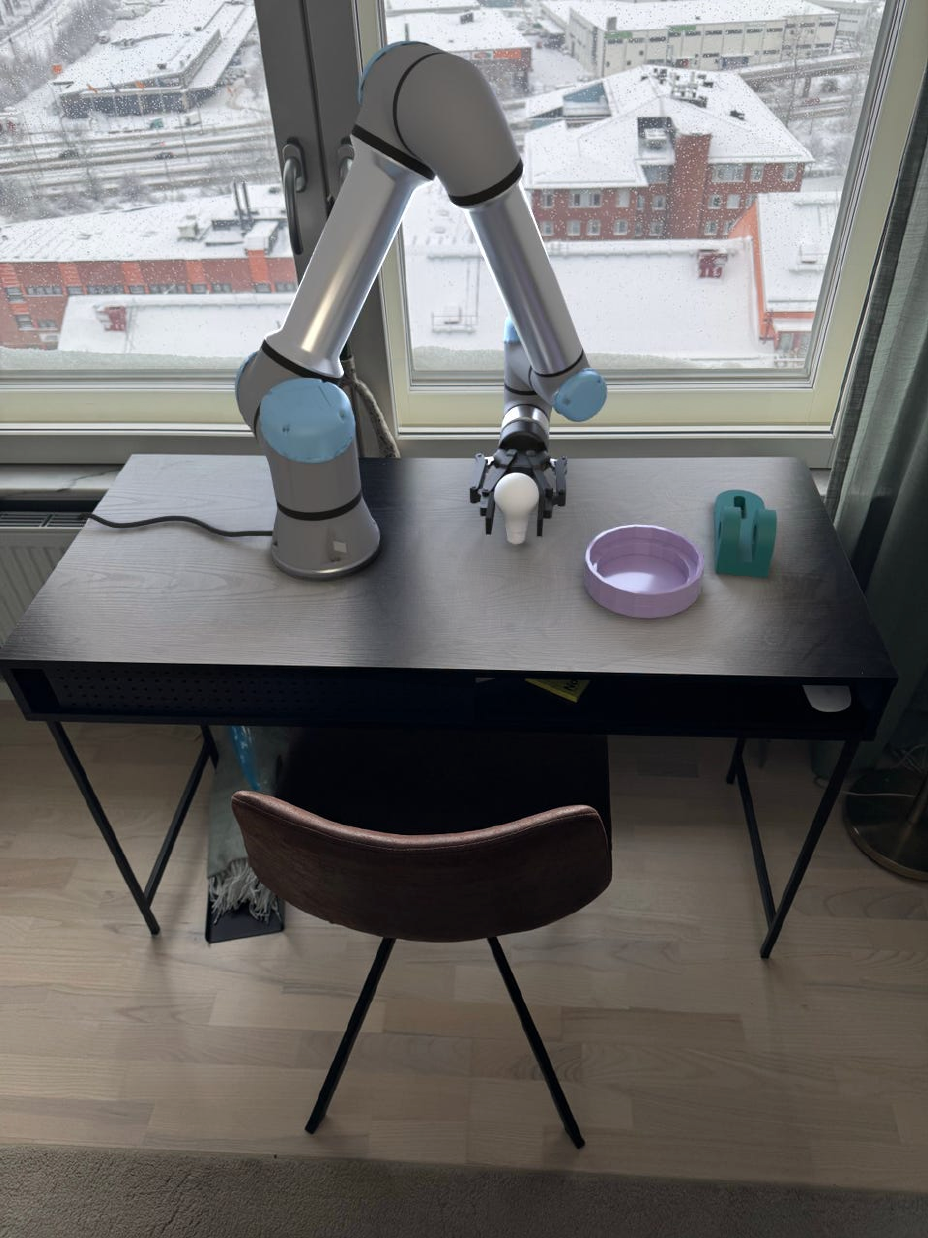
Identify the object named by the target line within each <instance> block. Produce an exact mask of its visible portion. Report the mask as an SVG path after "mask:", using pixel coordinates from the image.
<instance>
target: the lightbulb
mask: <svg viewBox="0 0 928 1238" xmlns="http://www.w3.org/2000/svg"><path fill="white" fill-rule="evenodd" d="M494 500H495V507H496V508H497V509H498V511H499V512H500V514H501V516H502V517H503V521H504V527H505V530H506V537H507V538H506V540H507V541H508V543H510V544H512V545H514V546H515V545H516V546H517V545H519V544H520V545H521V544H522V543H524V542H525V540H526V532H527V531H526V530H528V527H529V526H528V525H529V519H530V517H531V515H532V514H533V512H534V510H535V509H536V507H537V506H538V502H539V491H538V487H537V485H536V483H535V482H534V481H533V480H532V479H531V478H530V477H529V476H527V475H525V474H522V473H511V474H508V475H506V476H504V477H503V478H502V479H501V480H500V481H499V482H498V484H497V485H496V488H495V492H494Z"/></svg>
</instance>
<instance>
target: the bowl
mask: <svg viewBox="0 0 928 1238" xmlns="http://www.w3.org/2000/svg"><path fill="white" fill-rule="evenodd" d="M705 567H706V565H705V556H704V554H703V553H702V551H701V549H700V547H699V546H698V545H697V544H696V543H695V542H694V541H692V540H691V539H690V538H689V537H687V536H686V535H684V534H681V533H679V532H677V531H674V530H672V529H671V528H665V527H661V526H657V525H654V524H653V525H651V524H629V525H627V524H626V525H621V526H619V525H618V526H616V527H613V528H610V529H607V530H604V531H602V532H600V533H599V534H598V535H597V536H595V537H594V538H592V539H591V540H590V542H589V544H588V545H587V547H586V549H585V558H584V574H583V585H584V587H585V589H586V591H587V593H588V595H589V596H590V597H591V598H592V599H593V600H594V601H595V602H596V603H597V604H599V606H602V607H604V608H605V609H607V610H609V611H611V612H612V613H615V614H618V615H623V616H626V617H631V618H642V619H655V618H656V619H657V618H664V617H670V616H673V615H676V614H678V613H681V612H683V611H685V610H687V609H688V608H689V607H690V606H692V605H693V604H694V603H695V602H696V601H697V599H698V597H699V595H700V593H701V591H702V585H703V580H704V573H705Z"/></svg>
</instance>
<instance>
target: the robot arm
mask: <svg viewBox="0 0 928 1238" xmlns="http://www.w3.org/2000/svg"><path fill="white" fill-rule="evenodd" d="M358 84H359V85H358V91H357V96H358V97H357V98H358V104H359V105H358V106H359V110H360V111H359V113H358V115H357V118H356V119H355V122H354V125H353V127H352V129H351V132H350V135H349V138H350V142H351V145H352V148H353V152H354V157H353V159H352V162H351V165H350V167H349V169H348V171H347V173H346V176H345V178H344V181H343V182H342V186H341V188H340V190H339V192H338V195H337V197H336V200H335V201H334V204H333V207H332V209H331V211H330V213H329V216H328V218H327V221H326V222H325V225H324V228H323V230H322V232H321V234H320V237H319V238H318V241H317V244H316V246H315V248H314V251H313V253H312V256H311V258H310V260H309V263H308V265H307V267H306V269H305V271H304V274H303V276H302V279H301V281H300V284H299V286H298V287H297V290H296V293H295V295H294V298H293V300H292V302H291V305H290V306H289V309H288V311H287V314H286V316H285V318H284V320H283V323H282V324H281V325H282V326H280V328H279V329H276V330H273V331H270V332H268V333H266V334H265V336H264V338H263V341H262V342H261V344H260V347H259V349H258V350H256V351H255V352H252V353H250V354H248V356H247V357H246V358H245V359H244V360H243V361H242V363H241V365H240V366H239V368H238V370H237V373H236V377H235V380H234V395H235V399H236V403H237V407H238V411H239V413H240V415H241V416H242V419H243V421H244V422H245V424H246V426H248V427H249V429H250V431H251V432H252V434H253V436H254V438H255V440H256V442H257V444H258V445H259V447H260V449H261V450H262V452H263V454H264V456H265V457H266V460H267V463H268V464H267V465H268V468H269V471H270V476H271V483H272V487H273V493H274V497H275V503H276V511H275V512H276V513H275V519H274V524H273V529H272V530H237V531H231V530H230V531H228V530H223V529H219V528H216V527H214V526H211V525H209V524H208V523H206V522H203V521H202V520H199V519H197V518H194V517H191V516H186V515H163V516H157V517H153V518H148V519H144V520H143V519H142V520H138V521H132V522H114V521H110V520H107V519H105V518H102V517H101V516H98V515H97V514H94V513H92V512H82V513H80V514H79V515H78V516H77V517H76V518H75V521H77V522H80V521H83V520H84V519H86V518H87V519H90V520H93V521H95V522H98V523H99V524H101V525H104V526H106V527H110V528H113V529H132V528H139V527H143V526H145V527H146V526H149V525H150V526H151V525H154V524H159V523H166V522H184V523H185V522H186V523H190V524H194V525H196V526H198V527H200V528H202V529H204V530H206V531H208V532H210V533H212V534H214V535H218V536H221V537H225V538H226V537H227V538H241V537H243V538H244V537H271V542H270V548H271V554H272V558H273V561H274V564H275V565H276V566H277V568H279V569H280V571H282V572H283V573H285V574H287V575H288V576H292V577H294V578H296V579H301V580H305V581H316V582H318V581H333V580H337V579H341V578H346V577H348V576H351V575H354V574H356V573H359V572H360V571H362V570H363V569H365V568H366V567H369V565H371V564H372V563H373V562H374V561H375V560H376V558H377V557H378V555H379V553H380V551H381V547H382V543H381V541H382V540H381V533H380V528H379V526H378V523H377V522H376V521H375V519H374V518H373V517H372V515H371V512H370V510H369V508H368V505H367V504H366V502H365V500H364V497H363V492H362V480H361V474H360V465H359V464H360V463H359V456H358V447H357V440H356V439H357V438H356V420H355V415H354V412H353V410H352V404H351V402H350V399H349V397H348V395H347V394H346V393H345V392H344V391H343V389H341V388H340V387H339V384H340V382H341V380H342V378H343V376H344V370H343V369H344V368H343V366H342V364H341V361H340V355H341V353H342V351H343V349H344V347H345V344H346V343H347V340H348V338H349V337H350V334H351V332H352V329H353V328H354V325H355V323H356V321H357V319H358V317H359V314H360V313H361V311H362V308H363V305H364V304H365V301H366V299H367V297H368V295H369V292H370V290H371V289H372V286H373V284H374V282H375V280H376V277H377V275H378V273H379V271H380V269H381V267H382V264H383V262H384V261H385V259H386V256H387V254H388V251H389V249H390V247H391V245H392V243H393V241H394V238H395V236H396V234H397V232H398V230H399V227H400V226H401V223H402V221H403V219H404V217H405V214H406V212H407V211H408V209H409V206H410V204H411V202H412V200H413V198H414V196H415V193H416V191H418V190H419V189H421V188H424V187H427V186H430V185H432V184H433V182H434V181H435V178H436V177H437V178H438V180H439V182H440V183H441V185H442V186H443V188H444V190H445V193H446V195H447V196H448V199H449V201H450V203H451V205H452V206H453V207H454V208H457V209H460V210H463V212H464V214H465V216H466V219H467V221H468V224H469V226H470V228H471V230H472V233H473V235H474V237H475V240H476V242H477V245H478V246H479V249H480V252H481V254H482V256H483V258H484V260H485V263H486V265H487V267H488V270H489V272H490V274H491V276H492V278H493V281H494V283H495V285H496V288H497V291H498V292H499V295H500V297H501V299H502V302H503V304H504V307H505V309H506V310H507V312H508V317H506V319H505V321H504V331H503V339H502V343H503V375H504V376H503V413H502V421H501V426H500V432H499V439H498V445H497V451H496V452H494V453H493V454H492V456H487V457H485V455H484V453H481V452H480V453H476V454H475V468H474V472H473V475H472V478H471V481H470V482H469V483H470V484H469V503H470V504H472V505H473V504H474V505H475V504H478V503H479V515H480V517H484V519H485V535H486V536H492V534H493V526H494V520H495V513H496V504H495V500H494V492H495V488H496V485H497V484H498V482H499V481H500V480H501V479H502V478H503V477H504V476H506V475H508V474H511V473H522V474H525V475H527V476H529V477H530V478H531V479H532V480H533V481H534V482H535V483H536V485H537V487H538V491H539V500H538V503H537V515H536V537H537V538H542V537H543V531H544V520H551V519H552V518H553V509H554V506H558V507H560V508H564V507H565V506H567V505H566V504H567V483H566V482H567V481H566V480H567V479H566V475H568V474H567V473H568V461H569V460H568V459H569V458H568V456H566V455H561V456H559V458H558V459H555V458H552V457H551V455H550V454H549V442H550V431H551V426H550V425H551V416H552V415H551V414H552V410H554V411H555V412H556V413H557V414H559V415H562V416H563V417H564V418H565V419H567V420H569V421H571V422H574V423H582V422H587V421H588V420H590V419H592V418H594V417H595V416H596V415H598V414H599V413H600V411H601V410H602V409H603V407H604V406H605V403H606V401H607V398H608V385H607V383H606V380H605V379H604V378H603V376H602V375H600V373H599V372H598V370H596V369H594V368H592V366H591V365H590V363H589V360H588V357H587V355H586V352H585V350H584V348H583V346H582V343H581V341H580V338H579V335H578V332H577V329H576V327H575V324H574V322H573V319H572V315H571V313H570V311H569V308H568V305H567V303H566V300H565V297H564V295H563V292H562V289H561V286H560V284H559V280H558V279H557V276H556V273H555V270H554V268H553V265H552V262H551V259H550V257H549V254H548V252H547V249H546V246H545V243H544V241H543V238H542V236H541V232H540V229H539V228H538V227H539V226H538V224H537V222H536V218H535V216H534V213H533V211H532V209H531V206H530V203H529V200H528V198H527V195H526V193H525V190H524V186H523V184H522V179H523V178H524V175H525V172H526V171H525V170H526V168H525V164H524V161H523V159H522V156H521V153H520V151H519V148H518V145H517V143H516V140H515V137H514V134H513V131H512V129H511V126H510V124H509V121H508V119H507V116H506V113H505V112H504V109H503V107H502V105H501V102H500V101H499V98H498V96H497V94H496V91H495V89H494V88H493V87H492V85H491V83H490V81H489V80H488V79H487V77H486V75H484V74H483V72H482V71H481V70H480V69H479V68H478V67H477V66H476V64H474V63H473V62H471V61H469V60H468V59H466V58H464V57H462V56H460V55H456V54H452V53H451V52H448V51H445V50H443V49H442V48H439V47H436V46H434V45H432V44H429V43H428V42H425V41H419V40H399V41H394V42H391V43H389V44H387V45H385V46H383V47H381V48H379V50H377V51H376V52H375V53H374V54H373V55H372V57H370V59H368V62H367V63H366V65H365V67H364V68H363V70H362V73H361V76H360V79H359V82H358ZM492 467H494V468H495V469H496V471H494V473H493V474H492V476H491V477H490V478H489V479H488V481H487V482H486V483H485V481H486V478H487V474H488V473H489V470H491V468H492ZM549 469H551V472H553V476H554V477H555V479H554V481H555V491H554V487H553V486H551V484H550V483H549V481H548V478H547V477H546V475H545V473H544V472H546V471H547V470H549ZM484 484H485V485H484Z"/></svg>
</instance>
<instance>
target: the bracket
mask: <svg viewBox="0 0 928 1238" xmlns="http://www.w3.org/2000/svg"><path fill="white" fill-rule="evenodd" d="M742 514H743V515H742ZM742 517H743V519H742ZM777 529H778V514H777V510H776V509H766V508H765V502H764V500H763V499H762V498H761V496H759V495H758V494H756V493H754V492H752V491H748V490H744V489H727V490H724V491H721V492H720V493H719V494H717V496H716V497H715V503H714V509H713V536H714V537H713V538H714V539H713V540H714V541H713V542H714V574H721V575H730V576H731V575H732V576H742V577H743V576H744V577H754V578H764V579H768V575H769V572H770V567H771V562H772V559H773V554H774V550H775V544H776V538H777Z"/></svg>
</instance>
